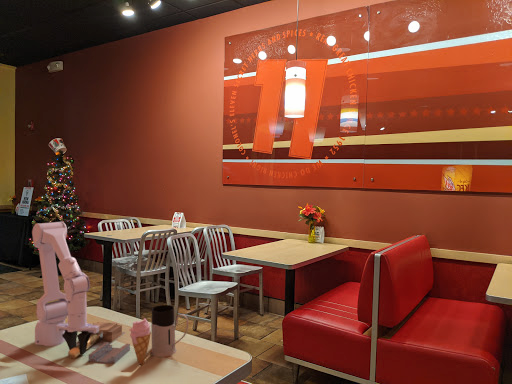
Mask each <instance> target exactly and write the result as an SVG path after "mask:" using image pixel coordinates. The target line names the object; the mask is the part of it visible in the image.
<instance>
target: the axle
mask: <svg viewBox="0 0 512 384" xmlns="http://www.w3.org/2000/svg"><path fill="white" fill-rule="evenodd" d="M99 340H100V335H99V334H98V333H96V334H93V335H92V336H90V339H89V341H88V344H87V348H86V351H87V350H88V349H91V348H90V347H91V346H92V345H94V344H95V343H96V342H98V341H99ZM67 355H68V358H70V359H72V360H75V359H76V358H77V357H79V356H80V355H81V354H80V345H79V344H78V345H77V346H76V347H74V348H73V349H71V350H69V351H67Z"/></svg>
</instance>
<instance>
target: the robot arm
mask: <svg viewBox="0 0 512 384" xmlns="http://www.w3.org/2000/svg"><path fill="white" fill-rule="evenodd" d="M31 234H32V241H33V242H32V243H33V247H35V248H37V249H38V253H39V261H40V270H41V276H42V285H43V292H44V293H43V295H42V296H40V298H39V299H38V300H37V302H36V318H37V319H38V321H37V323H36V324H35V327H34V345H37V346H39V345H40V346H45V347H55V346H59V345H61V344H64V343H65V342H66V344H67V347H68V349H69V351H70V350H71V349H73V348H74V347H76V344H77V340H78V342H79V345H80V355H84V354H85V353H86V352H87V350H86V348H87V344H88V341H89V339H90V336H91V334H92V333H95V334H96V333H98V332H99V326H97V325H92V324H93V323H92V324H91V323H88V314H87V311H88V310H87V309H88V308H87V307H88V306H87V301H88V300H87V292H88V291H90V287H91V283H90V278H89V276H88V275H87V274H85V272H84V271H83V272H82V270H81V267H80V266H79V264H78V262H77V259H76V258H75V257H73V256H72V255H71V252H70V249H69V246H68V244H67V240H66V239H67V235H68V228H67V225H66V223H65V222H64V221H55V222H43V223H37V222H36V223H35V224H34V225H33V228H32V230H31ZM56 256H57V257H56ZM56 258H58V259H59V263H58V265H57V260H56ZM57 266H58V267H57ZM58 268H59V271H60V273H61V276H62V278H63V280H64V283H63V290H64V292H62V291H60V284H59V283H60V281H59V273H58ZM66 320H67V323H66ZM78 332H80V333H79V334H78Z"/></svg>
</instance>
